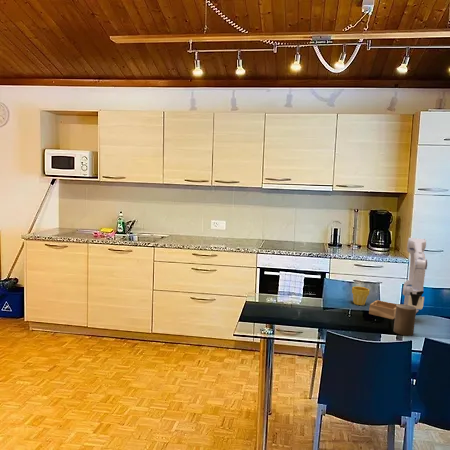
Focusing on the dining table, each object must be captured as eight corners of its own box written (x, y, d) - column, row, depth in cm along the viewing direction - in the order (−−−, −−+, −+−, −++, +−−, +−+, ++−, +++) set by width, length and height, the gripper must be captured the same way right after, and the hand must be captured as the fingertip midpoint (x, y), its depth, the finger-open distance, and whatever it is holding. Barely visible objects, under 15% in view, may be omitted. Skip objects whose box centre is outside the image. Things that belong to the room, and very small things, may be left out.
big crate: (375, 308, 279) (376, 300, 279) (399, 314, 272) (400, 305, 271) (368, 313, 268) (369, 304, 268) (392, 319, 261) (394, 309, 260)
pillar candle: (413, 337, 233) (417, 308, 231) (392, 333, 236) (396, 304, 235) (413, 331, 242) (416, 303, 240) (393, 328, 245) (396, 300, 244)
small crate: (409, 304, 264) (411, 294, 263) (422, 307, 260) (424, 297, 259) (407, 306, 260) (409, 296, 259) (421, 309, 256) (422, 298, 255)
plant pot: (369, 303, 290) (371, 288, 289) (365, 307, 281) (367, 291, 280) (353, 300, 295) (354, 285, 294) (348, 303, 286) (350, 288, 285)
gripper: (413, 277, 266) (410, 300, 268) (407, 281, 254) (404, 305, 256) (426, 279, 263) (423, 303, 264) (421, 283, 251) (418, 308, 252)
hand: (415, 304), depth 260 cm, fingers closed on small crate, 5 cm apart
